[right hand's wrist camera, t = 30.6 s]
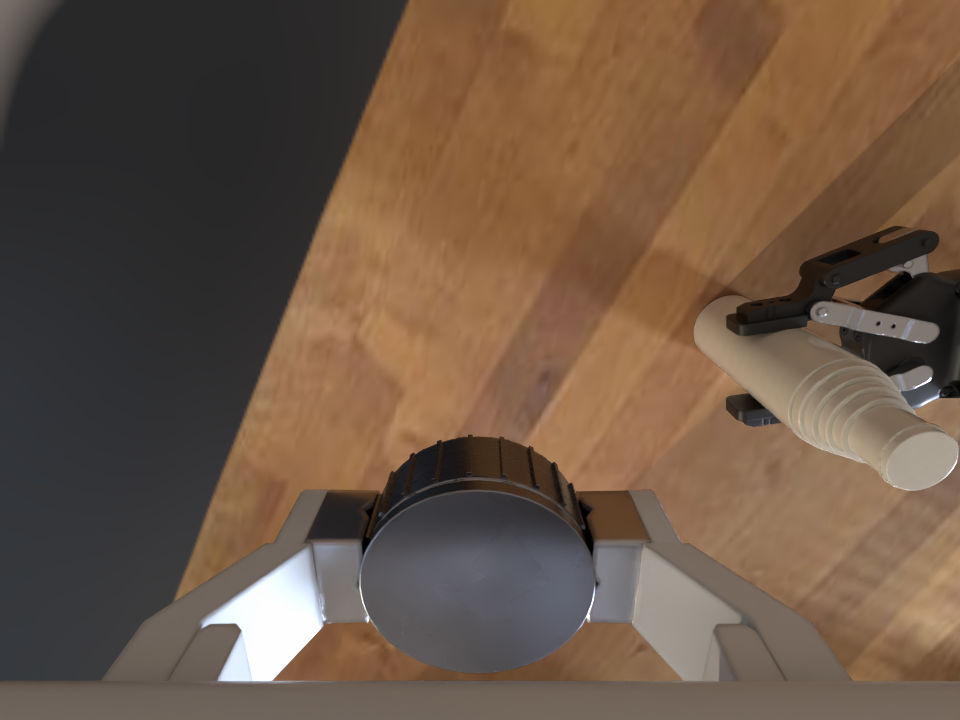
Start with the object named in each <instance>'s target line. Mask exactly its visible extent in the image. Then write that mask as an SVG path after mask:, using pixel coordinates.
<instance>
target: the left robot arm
mask: <svg viewBox="0 0 960 720" xmlns="http://www.w3.org/2000/svg"><path fill="white" fill-rule="evenodd" d="M938 243H939V236H938V234H937V233H935V232H932V231H926V230H920V229H914V228H907V227H901V226H893V227H890V228H888V229H885V230H883V231H880V232H878V233H875V234H873V235H870V236H868V237H865V238H863V239H860V240H858V241H855V242H853V243H850V244H848V245H845V246H843V247H840V248H838V249H835V250H833V251H830V252H828V253H825V254H823V255H820V256H818V257H815V258H813V259H810V260H808V261H806V262H804V263H803V264H802V265H801V267H800V270H799V274H800V276H801V278H802V279H801V281H800V283H799V286H798V288H797V289H796V290H795V291H794V292H793V293H792V294H790V295H787V296H782V297H776V298H770V299H764V300H758V301H752V302H746V303H743V304H741V305H740V306H738V307H736V313H733V314H728V315H727V316H726V328H727V329H729V330H730V331H732V332H733V333H735V334H736V335H739V336H751V335H757V334H764V333H770V332H776V331H783V330H787V329H795V328H801V327H807V321H810V320H813V321H815V322H819V323H825V324H831V325H836V326H840V338H841V342H842V346H841V347H842V348H844V349H846V350H848V351H850V352H852V353H854V354H856V355H858V356H859V357H861V358H863V359H865V360H867V361H869V362H871V363H873V364H874V365H876V366H877V367H878V368H880V369H881V371H882V372H884V373H885V374H886V375H888V376H889V378H890V379H891V380H892V382H893V384H894V385H895V386H896V387H897V388H898V389H899V391H900V393H901V394H902V396H903V397H904V398H905V399H906V401H907V403H908V404H909V405H910V406H911V407H912V408H913V409H917V408H919V407H921V406H923V405H925V404H926V403H928V402H930V401H932V400H935V399H938V398H960V269H957V270H951V271H945V272H940V273H929V267H928V259H927V254H928V253H930V252H932V251H933V250H934V249H935V248H936V247H937V245H938ZM884 270H887V271H891V272H895V273H897V272H899V274H897V275H896V276H895V277H893V278H892V279H891V280H890V281H888V282H887V283H886V284H885V285H883V286H882V287H881V288H879V289H878V290H877V291H876V292H874V293H873V294H872V295H871V296H869V297H868V298H867V299H865V300H864V301H858V300H852V299H847V298H841V297H836V296H833V294H834V292H835V290H836V289H838V288H840V287H843V286H846V285H848V284H851V283H853V282H856V281H859V280H861V279H864V278H866V277H869V276H871V275H874V274H877V273H879V272H882V271H884ZM726 409H727V411H728V412H729V413H730V414H731V415H732V416H733V417H734V418H735V419H736V420H739V421H743V422H744V423H745V424H746V425H748V426H753V427H756V426H763V425H769V424H776V423H782V422H781V421H780V420H778V419H777V418H776V417H775V416H774V415H773V414H772V413H770V412H769V411H768V410H767V409H766V408H765V407H764V406H762V405H761V404H760V403H759V402H758V401H757V400H756V399H755V398H753V397H752V396H751V395H750V394H749V393H746V394H740V395H733V396H729V397H727V398H726Z"/></svg>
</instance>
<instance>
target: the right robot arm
mask: <svg viewBox="0 0 960 720" xmlns="http://www.w3.org/2000/svg"><path fill="white" fill-rule="evenodd" d="M378 494H381V493H380V492H379V491H370V490H304V491H303V492H301V493H300V495H299V497H298V499H297V501H296V503H295V505H294V506H293V508H292V510H291V512H290V514H289V516H288V518H287V519H286V521H285V523H284V525H283V527H282V529H281V531H280V532H279V534H278V536H277V538H276V540H275V542H274V543H266V544H264V545H263V546H261V547H260V548H258V549H257V550H255V551H253V552H252V553H250V554H249V555H247V556H246V557H244V558H242V559H241V560H239V561H238V562H236V563H235V564H233V565H231V566H230V567H228V568H227V569H225V570H224V571H222V572H220V573H219V574H217V575H216V576H214V577H213V578H211V579H209V580H208V581H206V582H205V583H203V584H202V585H200V586H198V587H197V588H195V589H194V590H192V591H191V592H189V593H187V594H186V595H184V596H183V597H181V598H180V599H178V600H176V601H175V602H173V603H172V604H170V605H169V606H167V607H165V608H164V609H162V610H161V611H159V612H158V613H156V614H154V615H153V616H151V617H150V618H148V619H147V620H145V621H144V622H143V623H142V625H141V626H140V627H139V629H138V630H137V631H136V633H135V634H134V636H133V637H132V638H131V640H130V641H129V642H128V644H127V645H126V647H125V648H124V649H123V651H122V652H121V653H120V655H119V656H118V658H117V659H116V660H115V662H114V663H113V664H112V666H111V667H110V669H109V670H108V671H107V673H106V674H105V675H104V677H103V678H102V679H101V681H0V720H960V681H853V680H852V679H851V677H850V676H849V674H848V673H847V672H846V670H845V669H844V667H843V666H842V665H841V663H840V662H839V660H838V659H837V657H836V656H835V655H834V653H833V652H832V650H831V649H830V648H829V646H828V645H827V643H826V642H825V641H824V639H823V638H822V636H821V635H820V634H819V632H818V631H817V629H816V628H815V627H814V625H813V624H812V622H810V621H809V620H807V619H806V618H804V617H803V616H801V615H800V614H798V613H796V612H795V611H793V610H792V609H790V608H789V607H787V606H786V605H784V604H783V603H781V602H779V601H778V600H776V599H775V598H773V597H772V596H770V595H769V594H767V593H765V592H764V591H762V590H761V589H759V588H758V587H756V586H755V585H753V584H751V583H750V582H748V581H747V580H745V579H744V578H742V577H741V576H739V575H738V574H736V573H734V572H733V571H731V570H730V569H728V568H727V567H725V566H724V565H722V564H720V563H719V562H717V561H716V560H714V559H713V558H711V557H710V556H708V555H706V554H705V553H703V552H702V551H700V550H699V549H697V548H696V547H694V546H693V545H691V544H689V543H681V541H680V539H679V537H678V535H677V533H676V532H675V530H674V528H673V526H672V524H671V522H670V520H669V518H668V517H667V515H666V513H665V511H664V509H663V507H662V505H661V503H660V502H659V500H658V498H657V496H656V494H655V492H654V491H652V490H651V489H642V490H626V491H576V496H577V500H578V503H579V507H580V510H581V514H582V517H583V521H584V522H585V523H586V527H585V534H586V537H587V541H588V545H589V548H590V552H591V555H592V559H593V563H594V568H595V574H596V589H595V594H594V599H593V603H592V605H591V608H590V611H589V613H588V615H587V617H586V622H602V623H633V624H632V626H633V627H634V628H635V629H636V630H637V631H638V632H639V633H640V634H641V635H642V637H643V638H644V639H645V640H646V641H647V642H648V643H649V644H650V645H651V646H652V647H653V648H654V649H655V650H656V652H657V653H658V654H659V655H660V656H661V657H662V658H663V659H664V660H665V661H666V662H667V663H668V664H669V665H670V667H671V668H672V669H673V670H674V671H675V672H676V673H677V674H678V675H679V676H680V677H681V678H682V679H683V680H684V681H272V680H273V679H274V678H275V677H276V676H277V675H278V674H279V672H280V671H281V670H282V669H283V668H284V667H285V666H286V665H287V664H288V663H289V662H290V661H291V660H292V659H293V658H294V657H295V656H296V654H297V653H298V652H299V651H300V650H301V649H302V648H303V647H304V646H305V645H306V644H307V643H308V642H309V641H310V640H311V639H312V638H313V636H314V635H315V634H316V633H317V632H318V631H319V630H320V629H321V628H322V627H323V623H352V622H370V618H369V616H368V615H367V613H366V611H365V608H364V605H363V602H362V599H361V594H360V588H359V573H360V567H361V562H362V559H363V555H364V552H365V549H366V545H367V542H368V541H366V540H365V536H366V533H367V530H368V526H369V523H370V519H371V516H372V513H373V510H374V507H375V503H376V500H377V497H378Z"/></svg>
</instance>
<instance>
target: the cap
mask: <svg viewBox="0 0 960 720" xmlns="http://www.w3.org/2000/svg"><path fill="white" fill-rule="evenodd" d="M585 527H586V523H585V522H584V521H583V517H582V514H581V510H580V507H579V503H578V500H577V496H576V493H575V489H574V486H573V484H572V483H570V484H569V483H568V482H567V480H566V479H565V477H564V476H563V475H562V473H561V472H560V471H559V470H558V466H557V464H556V463H555V462H553V463H551V462H549V461H548V460H547V459H546V458H545V457H543V456H542V455H540V454H538V453H537V452H535V451H534V449H533V447H531V446H529V447H528V448H527V447H525V446H523V445H520V444H518V443H515V442H511V441H509V440H505V439H504V437H500V438H493V437H479V436H477V437H473V435H468V437H462V438H461V437H459V438H456V439H451V440H447V441H444V442H442V440H439V441H437V444H435V445H433V446H430V447H428V448H426V449H423V450H422V451H419V452H418V453H417V454H415V453H412V454H411V455H410V459H409V460H407V461H406V462H405V463H404V464H403V465H402V466H401V467H400V468H399V469H398V470H397V471H396V472H393V471H392V472H391V473H390V475H389V479H388V482H387V484H386V486H385V488H384V490H383V492H382V494H378V497H377V500H376V503H375V507H374V510H373V513H372V516H371V519H370V523H369V526H368V530H367V533H366V536H365V540H366V541H368V542H367V545H366V549H365V552H364V555H363V559H362V562H361V567H360V573H359V588H360V594H361V599H362V602H363V605H364V608H365V611H366V613H367V615H368V616H369V618H370V620H371V622H372V623H373V625H374V626H375V627H376V629H377V630H378V631H379V633H380V634H381V635H382V636H383V637H384V638H385V639H386V640H387V641H388V642H389V643H391V644H392V645H393V646H394V647H396V648H397V649H398V650H400V651H401V652H403V653H405V654H406V655H408V656H410V657H412V658H414V659H416V660H418V661H420V662H422V663H425V664H428V665H431V666H433V667H437V668H441V669H445V670H449V671H456V672H462V673H493V672H500V671H507V670H511V669H515V668H519V667H522V666H525V665H528V664H531V663H533V662H536V661H538V660H540V659H542V658H544V657H546V656H548V655H549V654H551V653H553V652H554V651H556V650H557V649H558V648H560V647H561V646H562V645H564V644H565V643H566V642H567V641H568V640H569V639H570V638H571V637H572V636H573V635H574V634H575V633H576V632H577V631H578V629H579V628H580V627H581V625H582V624H583V622H584V621H585V619H586V617H587V615H588V613H589V611H590V608H591V605H592V603H593V599H594V594H595V589H596V574H595V568H594V563H593V559H592V555H591V552H590V548H589V545H588V541H587V537H586V534H585Z"/></svg>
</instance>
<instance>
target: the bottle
mask: <svg viewBox="0 0 960 720" xmlns="http://www.w3.org/2000/svg"><path fill="white" fill-rule="evenodd" d="M746 302H752V300H750V299H748V298H746V297H743V296H738V295H729V296H724V297H721V298H718V299H716V300H714V301H713V302H711V303H710V304H708V305H707V306H706V307H705V308H704V309H703V310H702V311H701V313H700V314H699V316H698V318H697V320H696V322H695V326H694V340H695V343H696V345H697V347H698V348H699V350H700V351H701V352H702V353H703V354H704V355H705V356H707V357H708V358H709V359H710V360H711V361H712V362H713V363H715V364H716V365H717V366H718V367H719V368H720V369H721V370H723V371H724V372H725V373H726V374H727V375H728V376H729V377H731V378H732V379H733V380H734V381H735V382H736V383H737V384H739V385H740V386H741V387H742V388H743V389H744V390H745V391H747V392H748V393H749V394H750V395H751V396H752V397H753V398H755V399H756V400H757V401H758V402H759V403H760V404H761V405H762V406H764V407H765V408H766V409H767V410H768V411H769V412H770V413H772V414H773V415H774V416H775V417H776V418H777V419H778V420H780V421H781V422H782V423H783V424H784V425H785V426H786V427H788V428H789V429H790V430H791V431H792V432H793V433H794V434H796V435H797V436H798V437H799V438H800V439H802V440H803V441H805V442H807V443H809V444H811V445H812V446H814V447H816V448H818V449H821V450H825V451H828V452H830V453H833V454H837V455H840V456H843V457H846V458H851V459H853V460H855V461H858V462H862V463H867V464H868V465H869V466H870V467H872V468H873V469H874V470H875V471H877V472H878V473H879V474H880V476H881V477H882V478H883V480H884V481H886V482H887V483H889V484H890V485H892V486H894V487H898V488H901V489H904V490H921V489H925V488H928V487H930V486H933V485H935V484H937V483H938V482H940V481H941V480H943V479H944V478H945V477H946V476H947V475H948V474H949V473H950V472H951V471H952V469H953V468H954V466H955V464H956V462H957V459H958V450H959V446H958V443H957V441H955V440H954V439H953V438H952V437H951V436H950V435H948V434H947V433H946V432H945V430H943V429H942V428H940V427H939V426H937V425H935V424H931V423H928V422H926V421H924V420H923V419H921V418H919V417H917V416H916V414H915V412H914V410H913V408H912V407H911V406H910V405H909V404H908V403H907V401H906V399H905V398H904V397H903V396H902V394H901V393H900V391H899V389H898V388H897V387H896V386H895V385H894V384H893V382H892V380H891V379H890V378H889V376H888V375H886V374H885V373H884V372H882V371H881V369H880V368H878V367H877V366H876V365H874V364H873V363H871V362H869V361H867V360H865V359H863V358H861V357H859V356H858V355H856V354H854V353H852V352H850V351H848V350H846V349H844V348H842V347H840V346H838V345H836V344H835V343H833V342H831V341H829V340H827V339H825V338H823V337H821V336H819V335H817V334H815V333H814V332H812V331H810V330H808V329H806V328H804V327H801V328H795V329H787V330H783V331H776V332H770V333H764V334H757V335H751V336H739V335H736V334H735V333H733V332H732V331H730V330H729V329H727V328H726V316H727V315H728V314H733V313H736V307H738V306H740V305H741V304H743V303H746Z"/></svg>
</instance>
